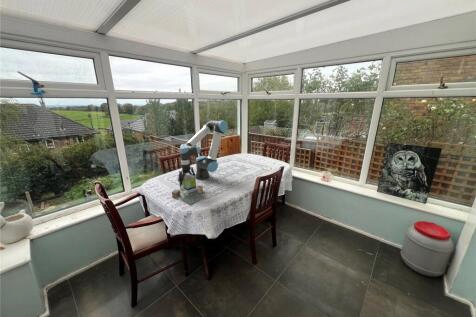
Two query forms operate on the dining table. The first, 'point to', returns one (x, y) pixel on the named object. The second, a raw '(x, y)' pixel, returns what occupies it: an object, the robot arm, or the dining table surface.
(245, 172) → the dining table surface
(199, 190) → the beech cylinder
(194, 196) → the slate mat
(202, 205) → the dining table surface
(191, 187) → the tea box
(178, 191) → the walnut block
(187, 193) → the sage cube
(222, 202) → the dining table surface
